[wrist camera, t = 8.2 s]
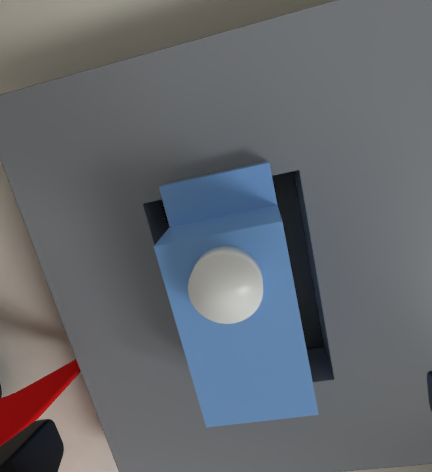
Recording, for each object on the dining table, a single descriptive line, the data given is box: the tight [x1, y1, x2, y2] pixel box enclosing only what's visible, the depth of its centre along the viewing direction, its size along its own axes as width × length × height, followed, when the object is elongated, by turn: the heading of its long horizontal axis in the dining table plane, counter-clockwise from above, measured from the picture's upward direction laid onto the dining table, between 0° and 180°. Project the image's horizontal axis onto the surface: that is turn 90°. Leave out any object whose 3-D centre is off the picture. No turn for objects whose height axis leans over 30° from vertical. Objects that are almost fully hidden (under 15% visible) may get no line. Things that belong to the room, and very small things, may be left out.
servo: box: [154, 161, 319, 428], centre depth 14 cm, size 10×4×6 cm, turn 13°
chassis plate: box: [0, 0, 432, 472], centre depth 16 cm, size 19×16×2 cm
